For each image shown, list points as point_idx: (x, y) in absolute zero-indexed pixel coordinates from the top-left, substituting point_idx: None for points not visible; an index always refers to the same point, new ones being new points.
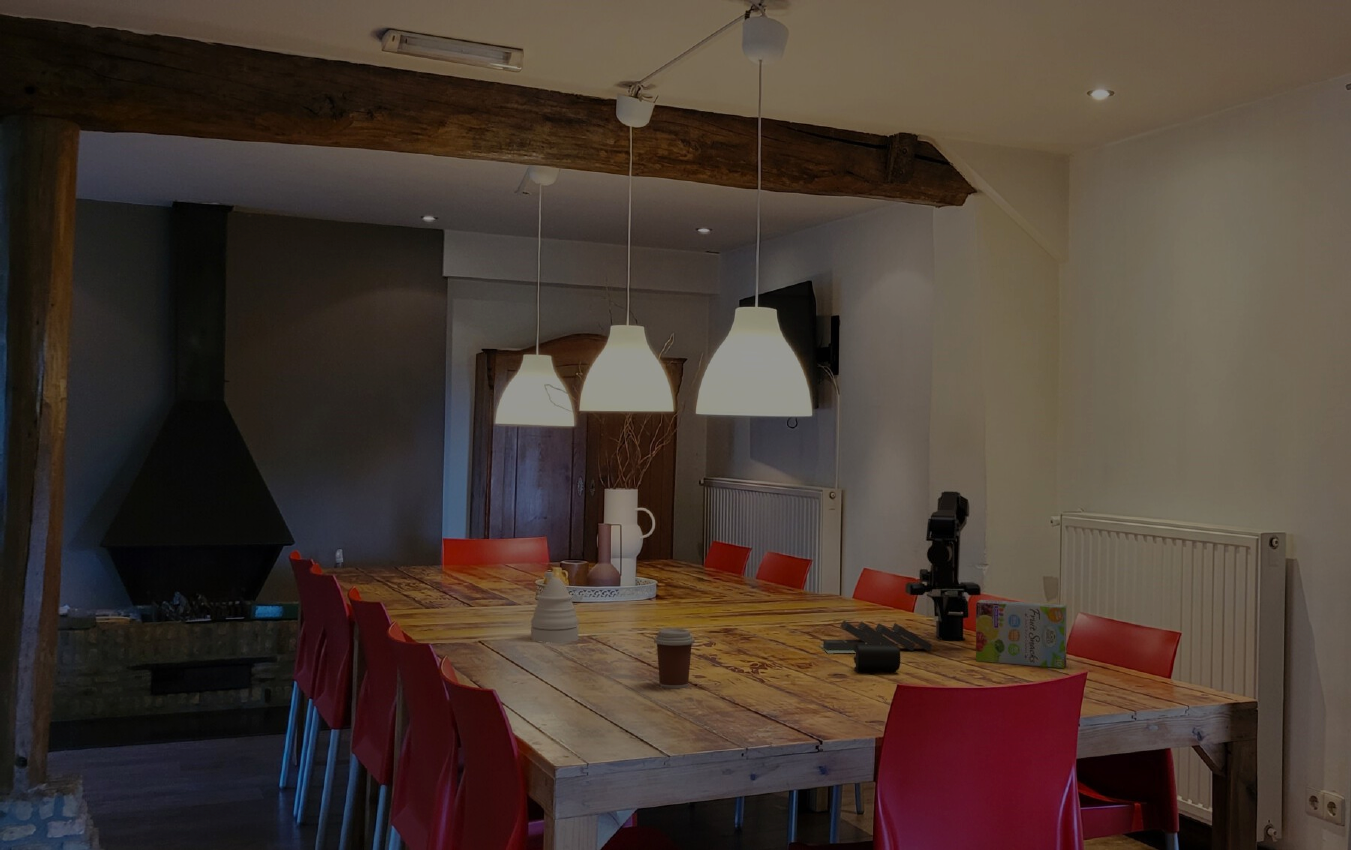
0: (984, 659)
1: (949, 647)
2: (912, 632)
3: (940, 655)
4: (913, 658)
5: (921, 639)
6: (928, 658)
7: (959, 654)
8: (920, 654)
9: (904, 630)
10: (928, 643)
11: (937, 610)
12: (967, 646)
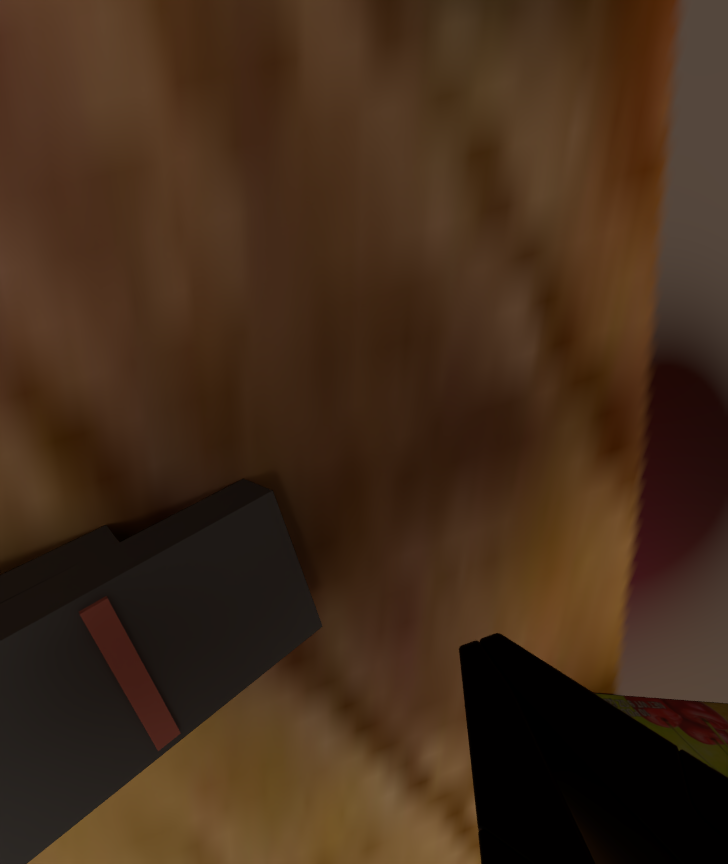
0: None
1: (450, 388)
2: (112, 670)
3: (365, 707)
4: (199, 850)
5: (226, 694)
6: (290, 815)
7: (485, 634)
8: (235, 724)
9: (22, 849)
10: (288, 646)
11: (478, 815)
12: (591, 300)
